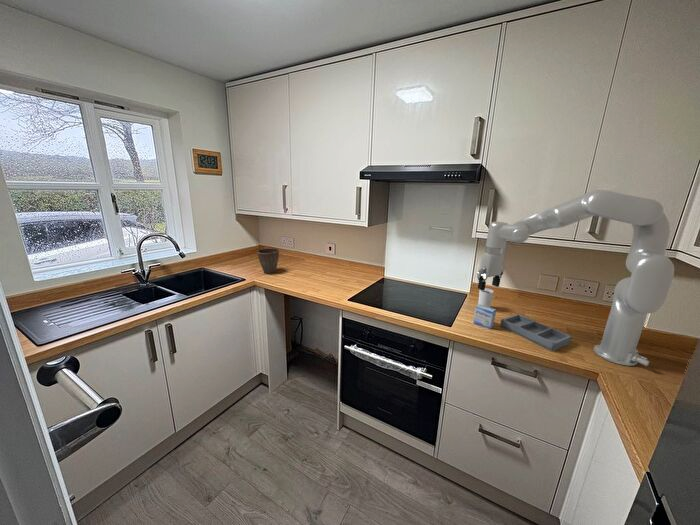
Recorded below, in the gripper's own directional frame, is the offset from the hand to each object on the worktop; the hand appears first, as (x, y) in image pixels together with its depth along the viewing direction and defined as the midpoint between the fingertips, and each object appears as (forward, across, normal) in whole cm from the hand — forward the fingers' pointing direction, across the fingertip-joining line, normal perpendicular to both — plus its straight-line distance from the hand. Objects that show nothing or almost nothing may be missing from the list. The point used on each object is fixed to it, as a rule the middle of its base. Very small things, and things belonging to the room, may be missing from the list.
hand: (488, 287), depth 127 cm
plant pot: (+20, +71, -122) cm, 142 cm away
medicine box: (+19, 0, 0) cm, 19 cm away
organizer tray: (+18, -12, +16) cm, 27 cm away
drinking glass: (+19, -16, -12) cm, 27 cm away
